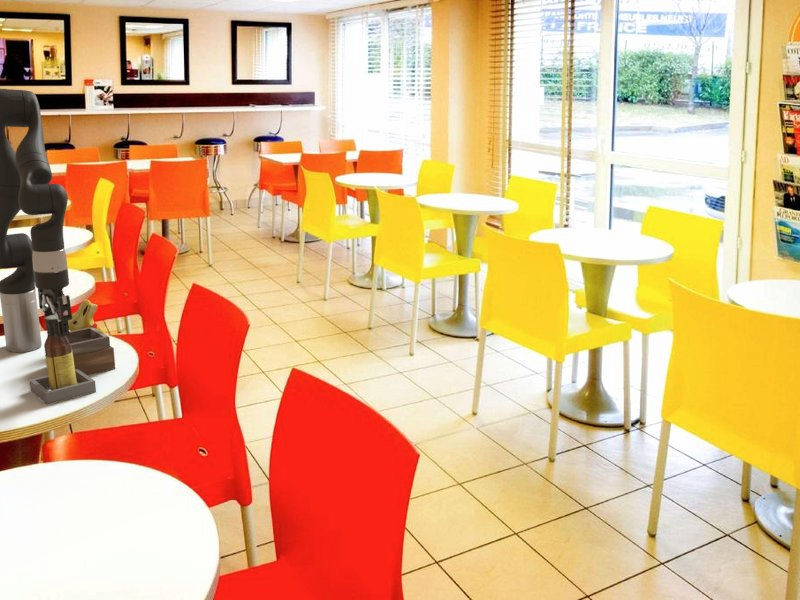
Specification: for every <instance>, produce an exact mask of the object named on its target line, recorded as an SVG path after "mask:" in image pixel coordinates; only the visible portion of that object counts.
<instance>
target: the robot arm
mask: <svg viewBox="0 0 800 600" xmlns="http://www.w3.org/2000/svg"><path fill="white" fill-rule="evenodd" d="M38 100H39V99H38V97H37V96H36V93H34V92H33V91H30V90H26V89H9V88H8V89H7V88H0V270H2V269H5V270H6V269H13V268H16V269H15V270H14V271H13V272H12V273H11V274H10V275H8V276H7V277H4V278H3V279H1V280H0V305H1V306H0V307H1V314H2V322H3V323H2V324H3V329H4V338H5V339H4V340H5V346H6V347H5V348H6V350H7V351H9V352H12V353H24V352H30V351H34V350H37V349H39V348H41V346H42V344H43V343H42V336H41V327H40V318H39V316H40V315H39V309H40V310H41V311H42V313H43V314H44V315H43V316H44V318H45V317H47V316H50V315H56V318H57V321H58V330H59V335H60V336H67V335H69V331H70V330H69V326H68V320H71V319H72V314H73V313H72V306H71V300H70V299H71V298H70V295H68V294H67V295H65V293H64V291H63V290H64V288H66V287H68V286H69V284H70V279H69V268H68V267H69V266H68V259H67V254H66V250H65V239H64V222H65V215H66V211H67V207H68V197H69V196H68V192H67V191H66V189H65V187H64V186H63V185H61V184H60V183H51V182H52V178H53V173H52V169H51V166H50V163H49V160H48V155H47V152H46V147H45V141H44V140H45V138H44V129H43V123H42V122H43V121H42V114H41V107H40V102H39V101H38ZM6 127H7V128H8V127H10V128H13V127H14V128H27V129H28V130H27V132H26V134H25V136H24V137H23V138H22V140H21V141H20V143H19V144H18V146H17V148H16V150H15V149H14V147H13V146H12V144H11V142H10V141H9V139H8V137H7V133H6ZM20 211H22V212H23V213H24V214H26V215H28V216H39V215H50V218H49V219H48V220H47V221H44V222H41V223H37V224H35V225H33V226H32V227H31V228H30V236H29V235H28V234H27V233H24V232H23V233H21V232H18V233H11V234H8V230H9V229H10V225H11V224H12V222H13V220H14V219H15V217H16V216H17V215H18V213H19V212H20ZM36 289H37V293H36ZM37 296H38V299H37ZM37 300H38V301H37ZM38 306H39V309H38ZM44 324H45V327H46V328H47V326H46V323H45V322H44Z"/></svg>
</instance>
